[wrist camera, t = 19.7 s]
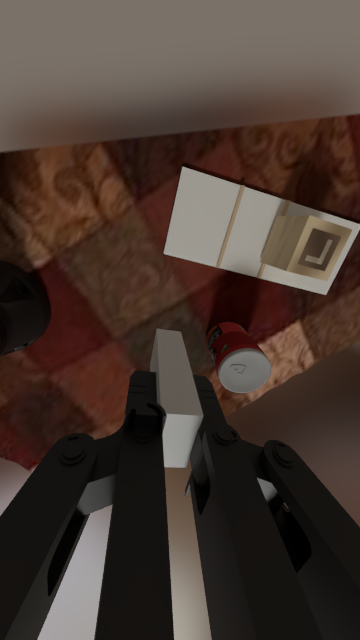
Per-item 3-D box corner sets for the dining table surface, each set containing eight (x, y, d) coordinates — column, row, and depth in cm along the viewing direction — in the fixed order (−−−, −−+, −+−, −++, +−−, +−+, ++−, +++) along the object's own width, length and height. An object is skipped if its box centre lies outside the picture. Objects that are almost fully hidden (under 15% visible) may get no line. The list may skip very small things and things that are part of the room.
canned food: (207, 318, 41) (223, 349, 31) (249, 321, 41) (278, 351, 31) (202, 354, 44) (215, 393, 33) (241, 356, 44) (265, 394, 34)
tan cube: (327, 281, 31) (294, 271, 38) (353, 229, 29) (313, 228, 35) (286, 271, 30) (259, 262, 36) (310, 215, 27) (276, 216, 34)
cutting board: (163, 253, 35) (163, 254, 34) (182, 167, 31) (182, 165, 30) (323, 294, 40) (327, 295, 39) (358, 224, 36) (364, 224, 35)
